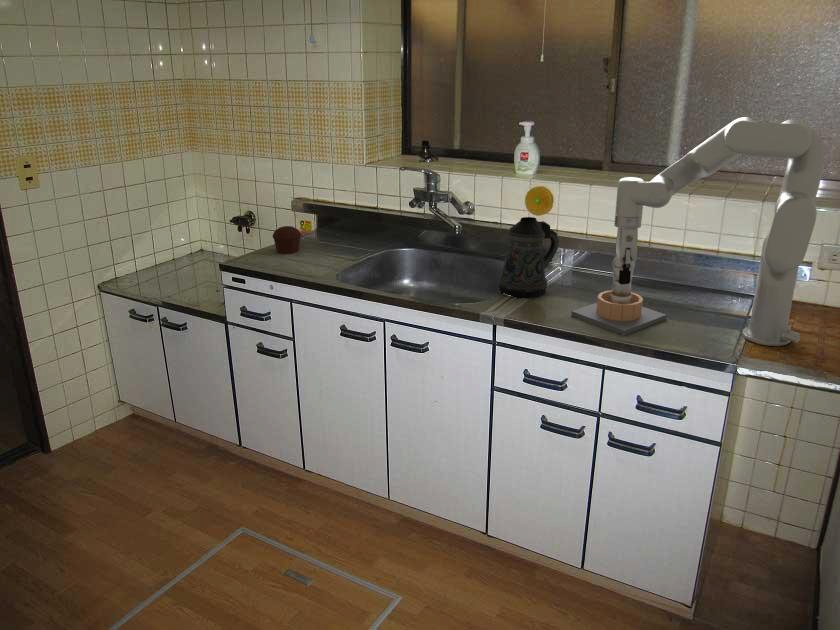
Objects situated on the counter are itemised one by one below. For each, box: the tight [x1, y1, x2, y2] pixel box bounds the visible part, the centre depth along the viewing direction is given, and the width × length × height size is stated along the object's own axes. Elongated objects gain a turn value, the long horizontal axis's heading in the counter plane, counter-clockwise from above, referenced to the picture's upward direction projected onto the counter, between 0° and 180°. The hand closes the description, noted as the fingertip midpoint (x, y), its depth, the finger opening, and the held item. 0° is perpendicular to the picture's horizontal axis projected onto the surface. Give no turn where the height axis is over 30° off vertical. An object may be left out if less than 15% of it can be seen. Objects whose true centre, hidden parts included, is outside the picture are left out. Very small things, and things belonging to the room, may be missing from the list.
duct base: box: [571, 290, 667, 336], centre depth 217 cm, size 20×20×6 cm
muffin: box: [272, 225, 303, 255], centre depth 288 cm, size 12×11×10 cm
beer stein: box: [497, 216, 560, 299], centre depth 238 cm, size 16×19×25 cm
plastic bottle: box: [610, 254, 636, 304], centre depth 213 cm, size 6×7×20 cm
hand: (622, 279), depth 213 cm, fingers closed on plastic bottle, 6 cm apart
